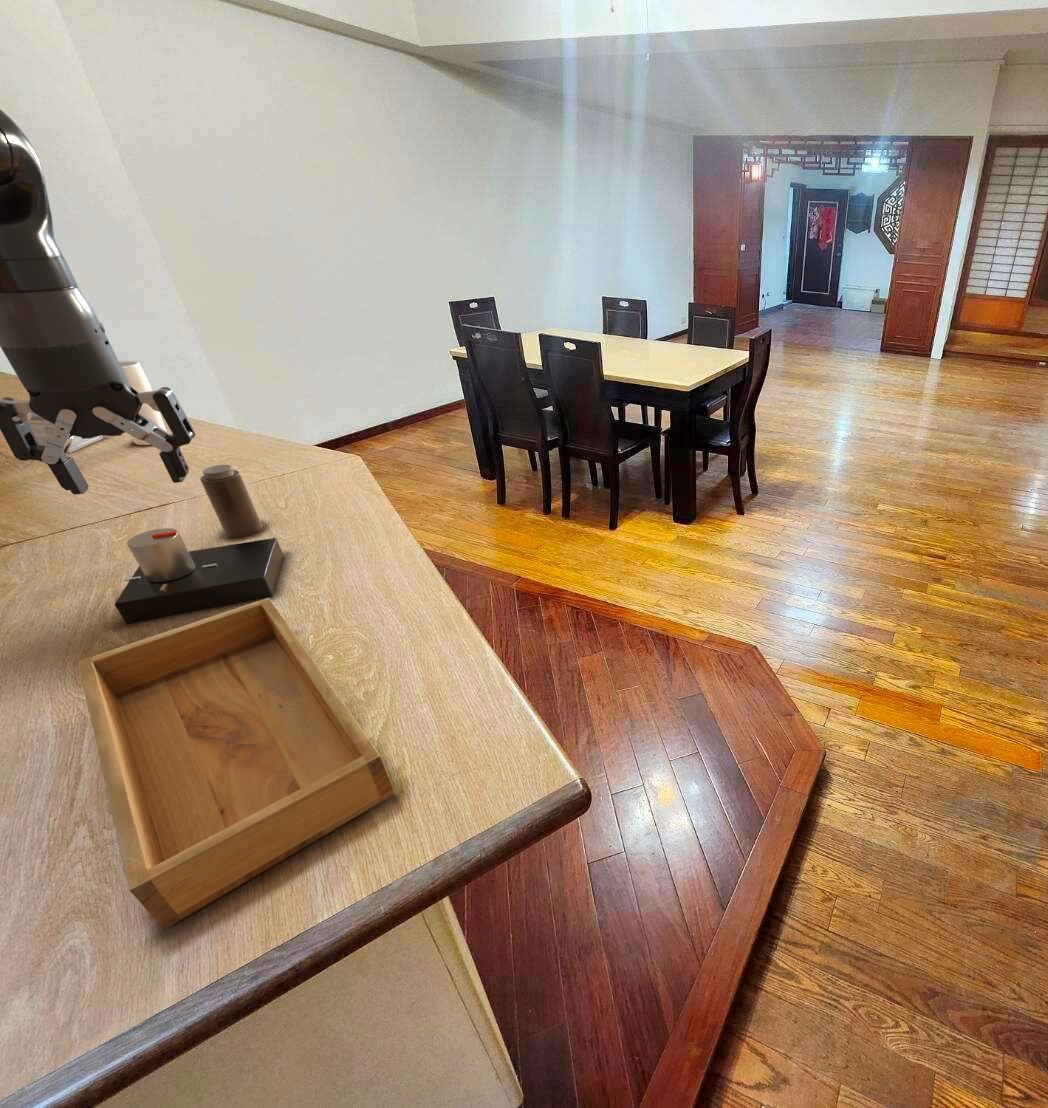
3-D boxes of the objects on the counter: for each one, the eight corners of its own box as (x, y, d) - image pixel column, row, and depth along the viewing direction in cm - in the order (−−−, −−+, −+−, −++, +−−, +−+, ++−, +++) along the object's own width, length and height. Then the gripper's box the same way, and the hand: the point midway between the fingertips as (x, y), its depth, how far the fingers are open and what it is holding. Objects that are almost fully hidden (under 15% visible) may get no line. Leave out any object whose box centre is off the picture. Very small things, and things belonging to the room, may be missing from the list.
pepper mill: (223, 540, 85) (193, 477, 80) (229, 527, 88) (200, 465, 83) (260, 534, 87) (233, 472, 82) (264, 522, 90) (239, 461, 85)
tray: (397, 796, 50) (379, 751, 47) (166, 934, 40) (125, 887, 37) (287, 636, 68) (269, 596, 65) (107, 705, 58) (76, 661, 55)
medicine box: (79, 439, 116) (55, 395, 112) (104, 439, 117) (81, 395, 112) (43, 453, 109) (16, 407, 105) (70, 453, 110) (44, 408, 105)
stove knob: (141, 586, 70) (119, 547, 67) (153, 567, 73) (132, 530, 71) (191, 577, 72) (171, 539, 69) (199, 559, 75) (181, 523, 72)
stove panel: (122, 626, 68) (108, 603, 66) (150, 578, 76) (138, 557, 75) (272, 596, 74) (263, 575, 72) (284, 555, 82) (275, 536, 81)
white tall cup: (168, 433, 120) (133, 358, 113) (180, 441, 117) (144, 364, 110) (125, 442, 116) (85, 364, 108) (136, 450, 112) (95, 370, 105)
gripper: (-73, 349, 53) (31, 510, 61) (134, 340, 59) (203, 488, 67) (-29, 334, 59) (61, 483, 67) (156, 327, 64) (217, 465, 73)
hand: (132, 485), depth 67 cm, fingers open, 8 cm apart
